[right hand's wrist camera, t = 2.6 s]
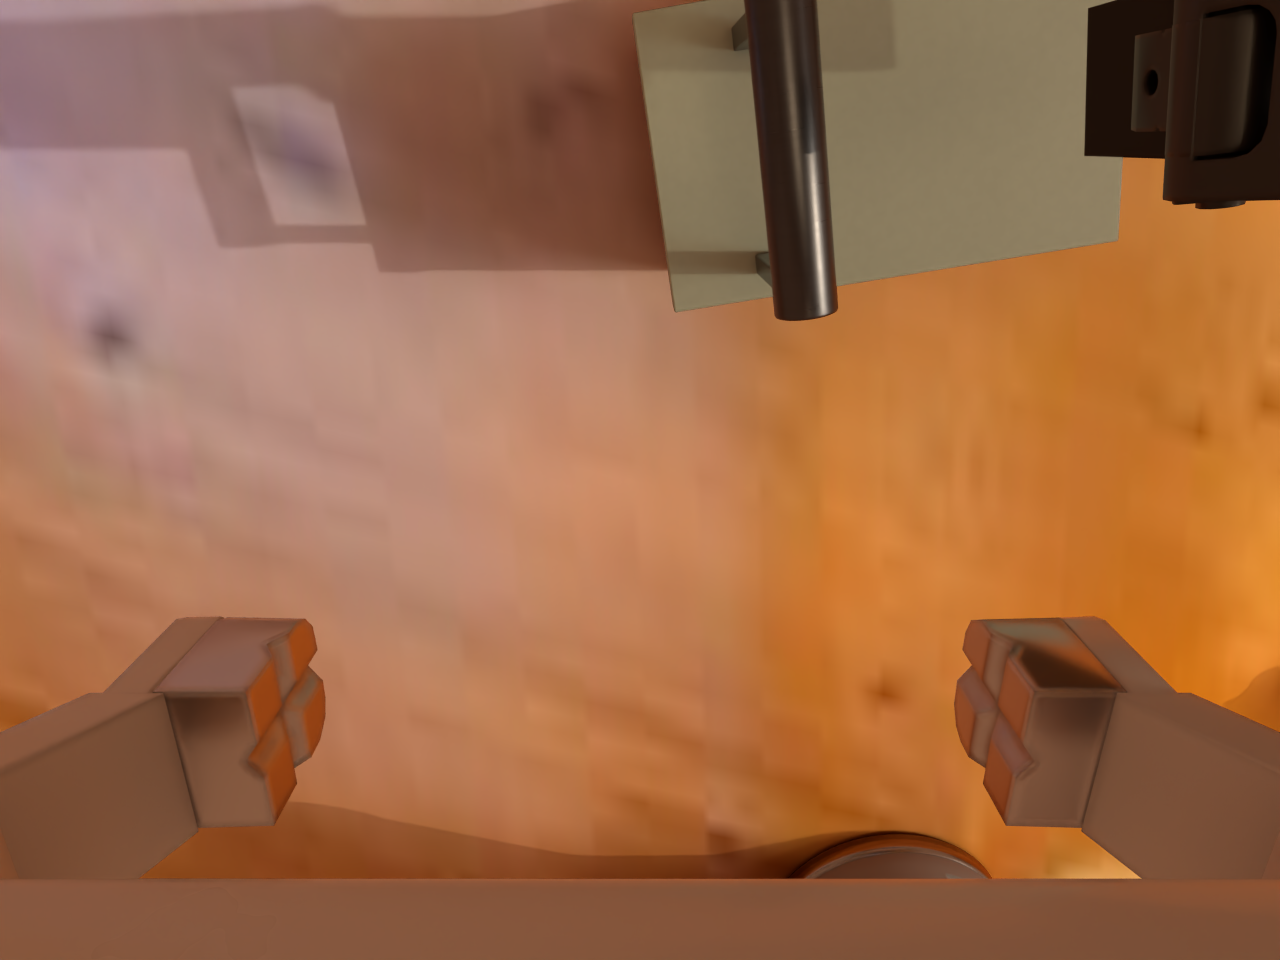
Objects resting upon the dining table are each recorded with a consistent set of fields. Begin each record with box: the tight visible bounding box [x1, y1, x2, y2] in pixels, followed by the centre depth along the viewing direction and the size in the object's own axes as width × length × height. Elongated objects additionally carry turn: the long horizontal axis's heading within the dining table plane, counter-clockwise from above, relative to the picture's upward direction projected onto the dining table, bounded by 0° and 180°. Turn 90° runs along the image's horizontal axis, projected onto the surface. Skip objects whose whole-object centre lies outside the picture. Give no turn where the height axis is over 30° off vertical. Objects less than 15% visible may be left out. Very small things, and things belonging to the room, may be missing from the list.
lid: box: [632, 0, 1123, 321], centre depth 24 cm, size 16×9×9 cm, turn 99°
